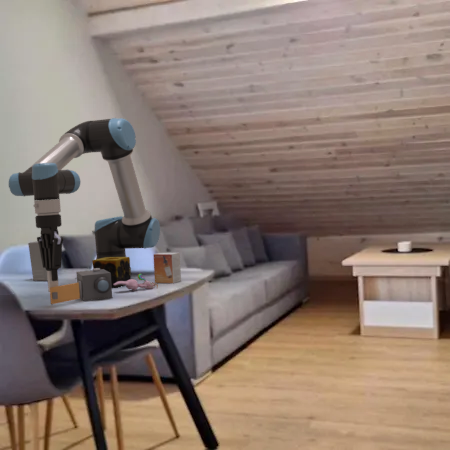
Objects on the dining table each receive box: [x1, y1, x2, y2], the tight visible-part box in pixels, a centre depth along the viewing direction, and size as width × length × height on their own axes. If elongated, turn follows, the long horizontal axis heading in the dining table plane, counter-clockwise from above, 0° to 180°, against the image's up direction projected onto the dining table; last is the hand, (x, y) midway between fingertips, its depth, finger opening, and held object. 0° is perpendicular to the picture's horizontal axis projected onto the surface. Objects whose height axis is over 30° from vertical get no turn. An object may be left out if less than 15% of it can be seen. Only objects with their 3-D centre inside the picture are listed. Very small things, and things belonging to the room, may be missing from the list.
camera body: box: [75, 268, 113, 302], centre depth 212 cm, size 14×9×9 cm, turn 21°
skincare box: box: [27, 241, 48, 282], centre depth 264 cm, size 8×7×16 cm
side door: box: [49, 281, 82, 305], centre depth 202 cm, size 11×2×5 cm, turn 139°
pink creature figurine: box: [113, 273, 159, 292], centre depth 222 cm, size 6×6×15 cm
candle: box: [91, 256, 132, 289], centre depth 236 cm, size 10×10×10 cm
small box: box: [153, 252, 182, 284], centre depth 237 cm, size 8×6×10 cm
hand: (53, 291), depth 201 cm, fingers closed
